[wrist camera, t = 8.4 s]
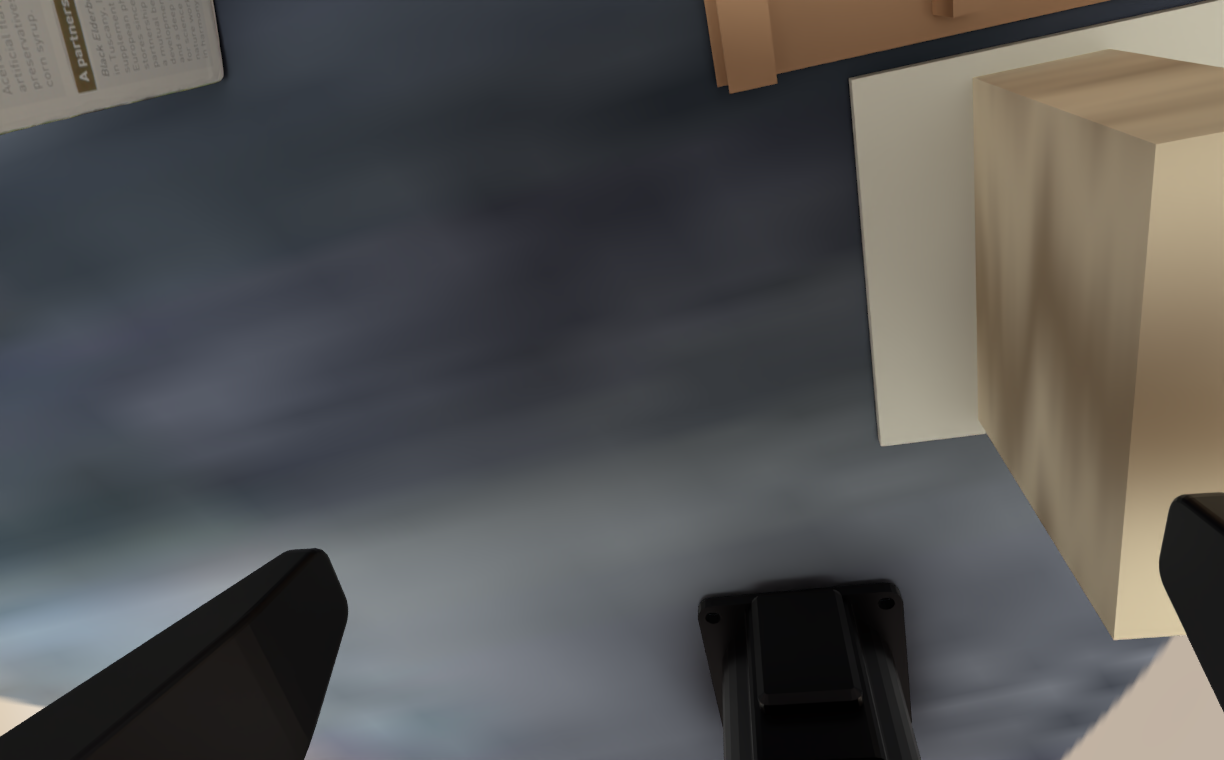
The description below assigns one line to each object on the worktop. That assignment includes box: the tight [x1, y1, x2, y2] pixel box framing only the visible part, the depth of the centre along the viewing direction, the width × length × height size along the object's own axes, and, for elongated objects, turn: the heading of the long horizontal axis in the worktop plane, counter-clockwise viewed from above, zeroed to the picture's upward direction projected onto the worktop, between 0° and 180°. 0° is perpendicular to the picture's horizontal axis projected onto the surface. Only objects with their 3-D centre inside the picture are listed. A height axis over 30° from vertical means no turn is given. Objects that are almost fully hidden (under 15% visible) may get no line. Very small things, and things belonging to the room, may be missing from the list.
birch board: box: [973, 49, 1224, 640], centre depth 15 cm, size 9×3×8 cm, turn 13°
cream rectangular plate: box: [849, 0, 1224, 446], centre depth 19 cm, size 10×8×1 cm
